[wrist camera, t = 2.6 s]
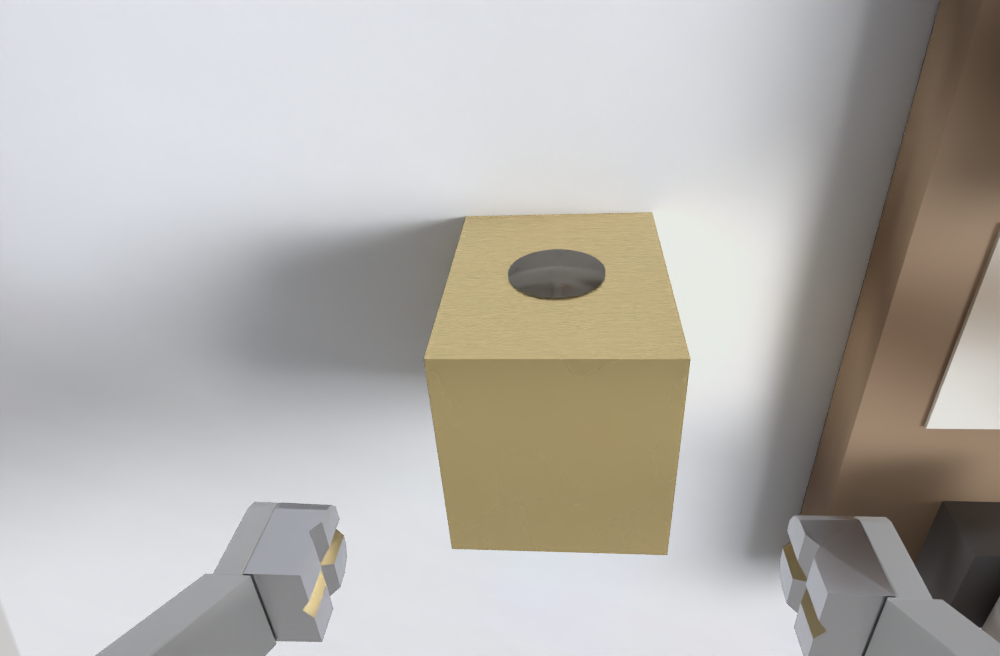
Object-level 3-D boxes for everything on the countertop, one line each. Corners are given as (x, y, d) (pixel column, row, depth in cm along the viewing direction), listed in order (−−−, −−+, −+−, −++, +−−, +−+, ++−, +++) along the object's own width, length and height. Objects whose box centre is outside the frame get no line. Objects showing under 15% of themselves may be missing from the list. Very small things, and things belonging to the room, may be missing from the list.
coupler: (466, 213, 17) (423, 356, 12) (651, 209, 16) (690, 356, 11) (481, 378, 19) (452, 550, 14) (640, 378, 19) (667, 556, 14)
